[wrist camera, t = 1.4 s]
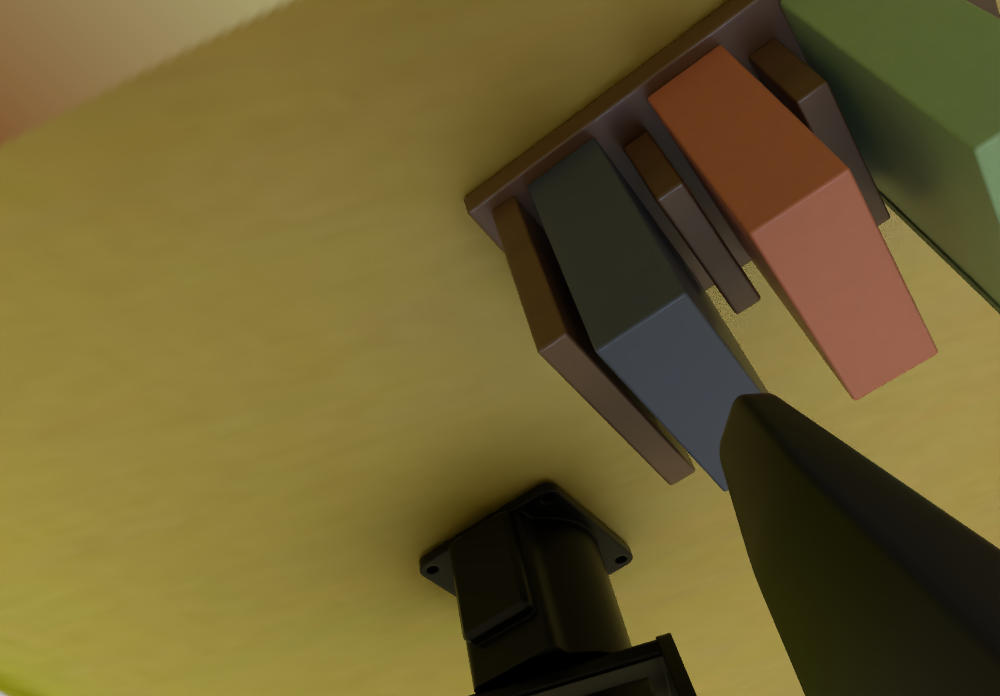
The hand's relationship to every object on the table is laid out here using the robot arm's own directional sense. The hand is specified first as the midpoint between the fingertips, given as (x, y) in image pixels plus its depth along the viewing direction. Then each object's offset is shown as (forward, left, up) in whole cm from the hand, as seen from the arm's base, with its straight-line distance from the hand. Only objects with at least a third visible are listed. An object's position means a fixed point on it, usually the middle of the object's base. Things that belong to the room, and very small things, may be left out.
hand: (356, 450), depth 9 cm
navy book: (-9, -2, -13) cm, 16 cm away
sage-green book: (-9, -10, -13) cm, 19 cm away
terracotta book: (-9, -6, -13) cm, 17 cm away
